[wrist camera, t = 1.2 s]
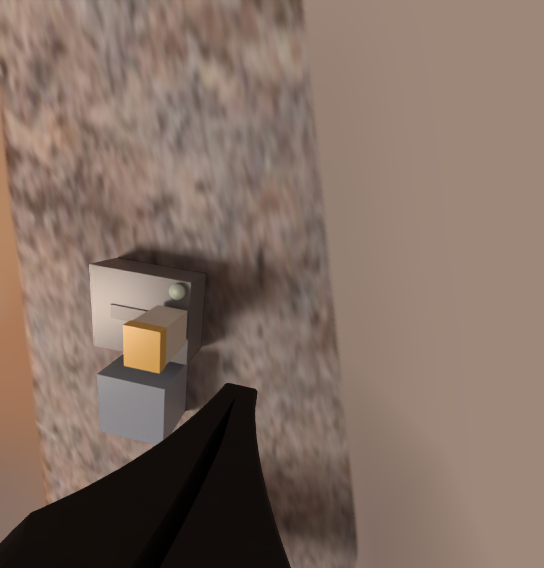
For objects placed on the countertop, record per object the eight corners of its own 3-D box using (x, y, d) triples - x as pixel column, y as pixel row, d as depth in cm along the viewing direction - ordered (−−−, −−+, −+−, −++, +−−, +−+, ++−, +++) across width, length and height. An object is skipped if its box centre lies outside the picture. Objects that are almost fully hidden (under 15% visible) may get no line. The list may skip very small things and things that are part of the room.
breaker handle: (186, 344, 17) (159, 373, 14) (156, 338, 17) (123, 365, 14) (188, 310, 16) (160, 332, 13) (157, 304, 17) (122, 324, 13)
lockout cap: (185, 411, 22) (163, 446, 19) (131, 398, 23) (100, 431, 19) (187, 361, 21) (164, 389, 17) (130, 348, 21) (96, 374, 18)
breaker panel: (200, 347, 20) (184, 367, 18) (118, 330, 21) (90, 347, 18) (206, 273, 19) (188, 284, 16) (116, 258, 19) (85, 264, 16)
